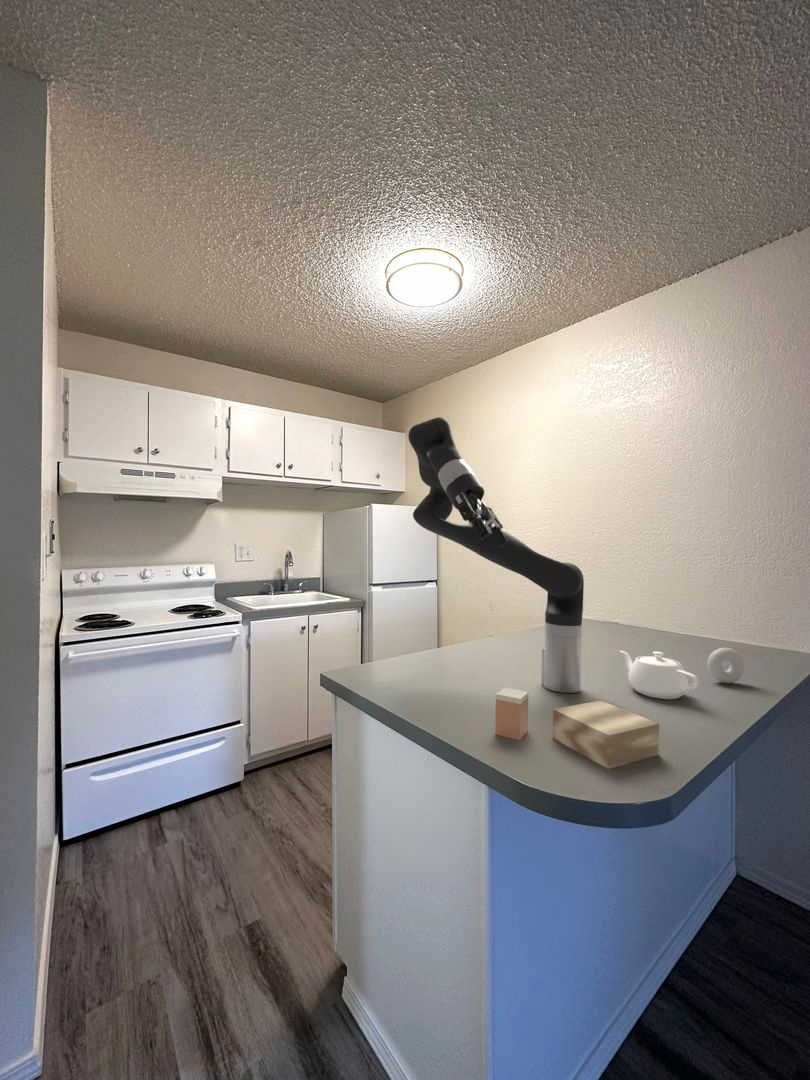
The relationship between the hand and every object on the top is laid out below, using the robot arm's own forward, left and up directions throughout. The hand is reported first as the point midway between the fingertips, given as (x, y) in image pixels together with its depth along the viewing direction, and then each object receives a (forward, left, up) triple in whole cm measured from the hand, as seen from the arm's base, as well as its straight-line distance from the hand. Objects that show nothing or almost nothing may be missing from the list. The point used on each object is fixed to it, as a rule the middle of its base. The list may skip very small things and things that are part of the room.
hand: (495, 540), depth 93 cm
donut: (-3, +80, -39) cm, 89 cm away
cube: (+4, +2, -39) cm, 39 cm away
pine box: (+15, +15, -39) cm, 44 cm away
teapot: (-4, +53, -39) cm, 66 cm away
